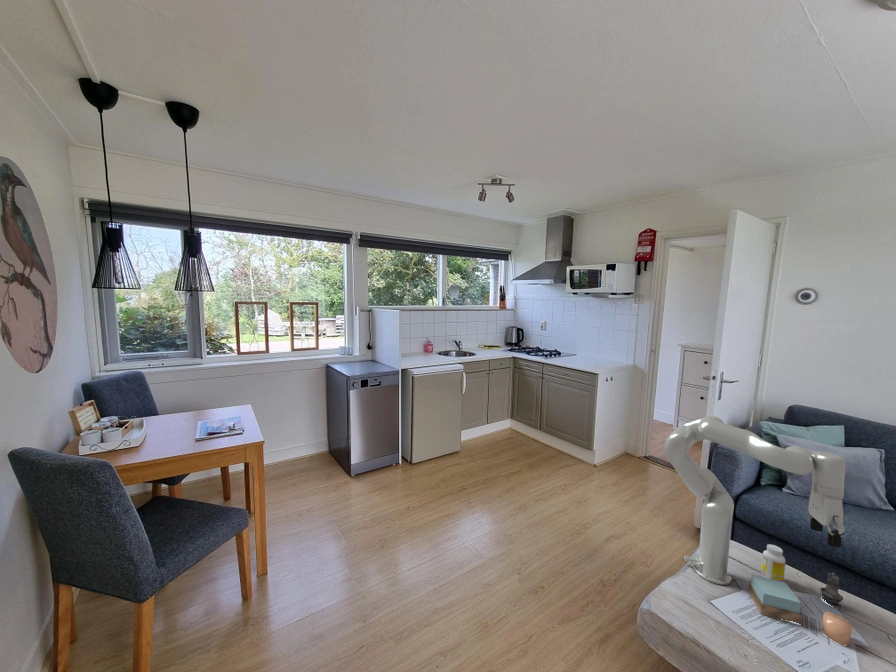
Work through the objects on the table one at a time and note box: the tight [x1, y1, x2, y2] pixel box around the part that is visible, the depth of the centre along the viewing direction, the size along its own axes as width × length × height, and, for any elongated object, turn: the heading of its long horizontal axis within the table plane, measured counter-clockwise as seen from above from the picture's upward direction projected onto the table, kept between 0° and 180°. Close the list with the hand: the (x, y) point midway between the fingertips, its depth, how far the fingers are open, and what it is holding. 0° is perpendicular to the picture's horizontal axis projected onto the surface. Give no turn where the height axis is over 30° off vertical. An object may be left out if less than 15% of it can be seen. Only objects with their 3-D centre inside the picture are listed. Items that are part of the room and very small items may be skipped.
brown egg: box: [821, 611, 853, 647], centre depth 117 cm, size 6×6×6 cm
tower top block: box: [750, 574, 801, 614], centre depth 128 cm, size 10×10×4 cm
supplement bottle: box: [760, 543, 786, 582], centre depth 143 cm, size 7×7×13 cm
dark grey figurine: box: [819, 571, 844, 610], centre depth 132 cm, size 6×6×12 cm
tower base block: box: [748, 583, 803, 625], centre depth 129 cm, size 11×11×4 cm
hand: (824, 538), depth 123 cm, fingers open, 9 cm apart
